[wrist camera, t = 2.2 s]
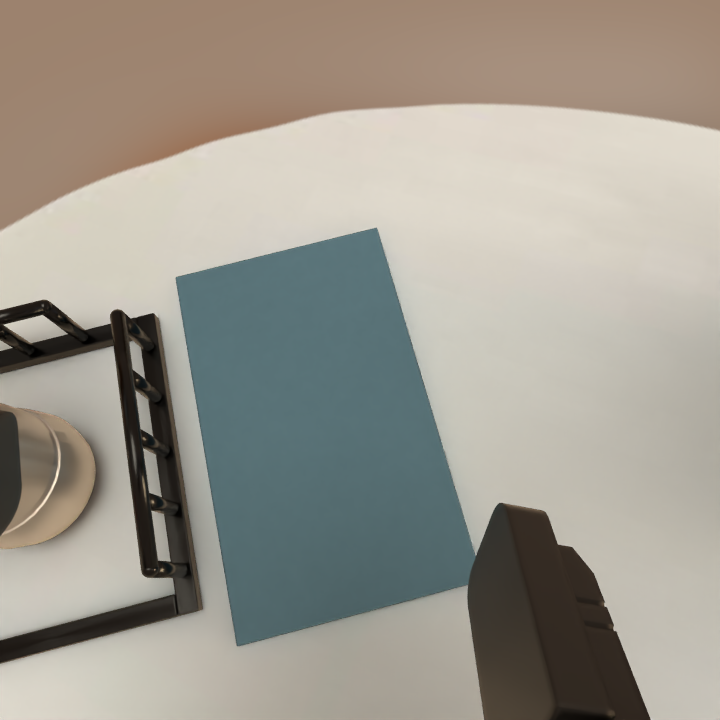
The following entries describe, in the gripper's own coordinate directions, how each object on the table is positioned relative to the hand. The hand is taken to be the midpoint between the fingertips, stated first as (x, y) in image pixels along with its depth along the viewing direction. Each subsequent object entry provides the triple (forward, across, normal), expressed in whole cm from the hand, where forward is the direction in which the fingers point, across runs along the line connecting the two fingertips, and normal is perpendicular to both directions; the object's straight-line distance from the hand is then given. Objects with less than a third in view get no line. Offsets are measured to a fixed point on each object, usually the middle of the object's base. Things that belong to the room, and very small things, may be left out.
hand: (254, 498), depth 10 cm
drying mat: (+20, -1, +11) cm, 23 cm away
